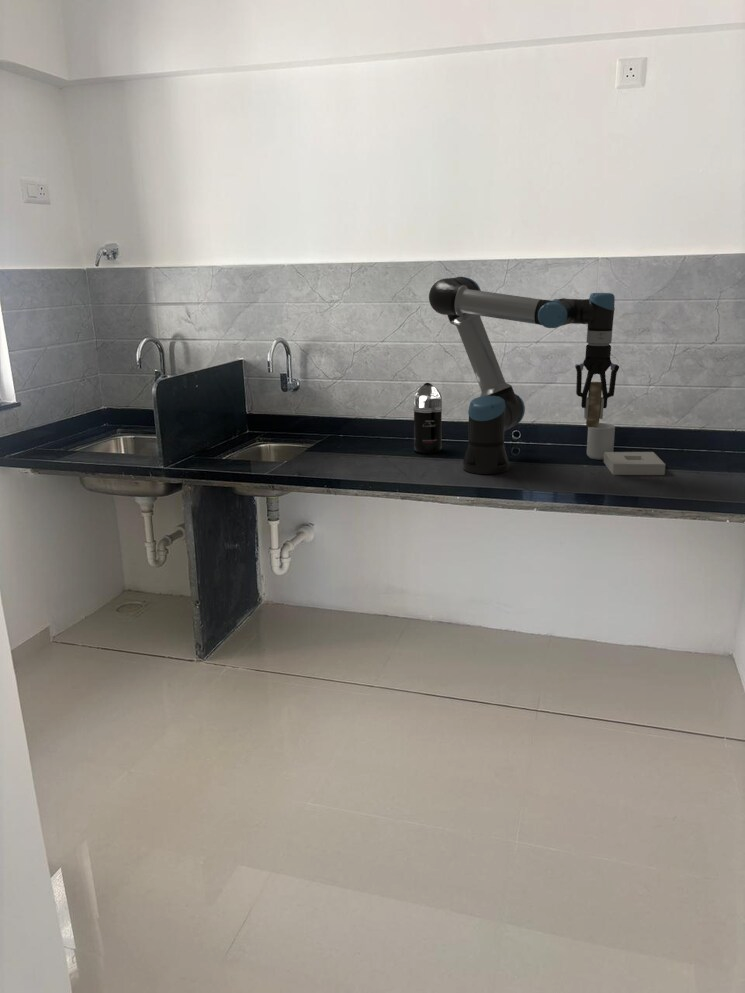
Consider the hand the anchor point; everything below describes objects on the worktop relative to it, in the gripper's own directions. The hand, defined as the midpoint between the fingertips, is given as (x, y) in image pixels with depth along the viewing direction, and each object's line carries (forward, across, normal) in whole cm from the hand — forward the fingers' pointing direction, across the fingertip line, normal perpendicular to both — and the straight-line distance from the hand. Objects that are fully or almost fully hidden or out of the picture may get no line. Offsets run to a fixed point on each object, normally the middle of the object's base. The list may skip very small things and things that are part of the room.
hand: (593, 417), depth 250 cm
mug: (+18, +7, +19) cm, 27 cm away
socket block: (+17, +15, +3) cm, 23 cm away
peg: (+3, 0, 0) cm, 3 cm away
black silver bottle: (+19, -53, +26) cm, 62 cm away
